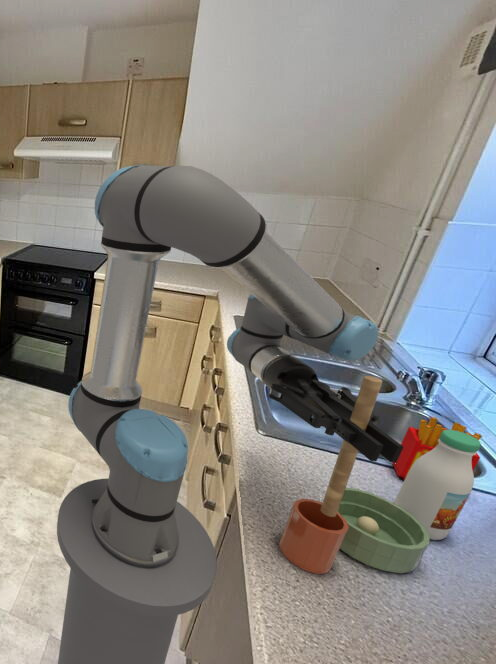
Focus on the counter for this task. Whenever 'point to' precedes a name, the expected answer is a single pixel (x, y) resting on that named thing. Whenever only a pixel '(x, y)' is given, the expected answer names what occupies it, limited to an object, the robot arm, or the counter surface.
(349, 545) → the bowl
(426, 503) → the milk bottle
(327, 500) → the stirring stick
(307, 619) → the counter surface
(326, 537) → the utensil cup
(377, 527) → the ball
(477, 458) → the french fries container
